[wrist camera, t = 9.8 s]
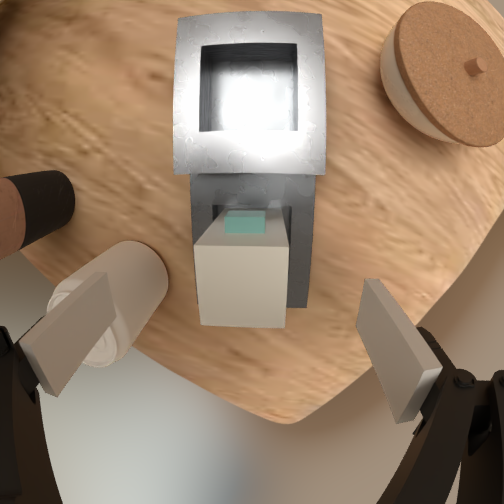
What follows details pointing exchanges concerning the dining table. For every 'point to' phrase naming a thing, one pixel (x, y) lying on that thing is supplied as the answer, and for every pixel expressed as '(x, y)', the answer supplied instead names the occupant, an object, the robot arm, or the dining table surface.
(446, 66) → the lidded bowl
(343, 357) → the dining table surface
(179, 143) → the grey stepped socket block
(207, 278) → the plug
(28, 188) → the travel mug
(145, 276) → the beverage can
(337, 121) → the dining table surface
